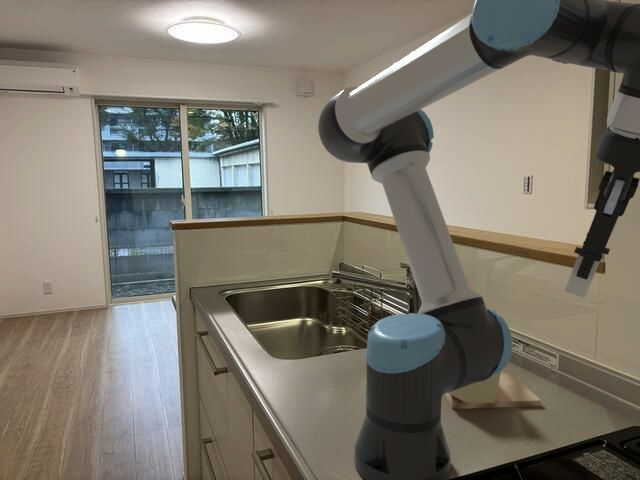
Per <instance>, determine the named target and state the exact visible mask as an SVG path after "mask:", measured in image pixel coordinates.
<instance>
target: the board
mask: <svg viewBox="0 0 640 480" xmlns="http://www.w3.org/2000/svg"><path fill="white" fill-rule="evenodd" d="M442 398H444V400H445V401H446V402H447V404H448V405H449V407H450V408H451V410H461V409H465V410H466V409H490V408H491V409H493V408H496V409H497V408H520V407H521V408H522V407H541V406H542V405H541V404H542V402H541V401H542V400H541V399H540V398H539V397H538V396H537V395H536V394H535V393H534V392H532V391H531V390H530V389H529V388H528V387H527V386H526V385H525V384H523V382H522V381H520V380H519V379H518V378H517V377H516V376H515V375H514V374H513V373H512V372H510V371H509V370H508V369H507V368H506V367H505V368H504V369H503V370H502V371H501V375H500V379H499V384H498V389H497V393H496V398H495V402H494V403H466V402H464V401H462V400H460V399H458V398H456V397H455V396H453V395H451V394H449V393H446V394H444V395H443V396H442Z"/></svg>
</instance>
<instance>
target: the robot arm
mask: <svg viewBox="0 0 640 480" xmlns="http://www.w3.org/2000/svg"><path fill="white" fill-rule="evenodd" d="M529 56H534V57H538V58H539V57H540V58H544V59H548V60H550V61H553V62H557V63H561V64H564V65H566V64H567V65H568V64H572V65H575V66H581V67H587V68H592V69H593V68H594V69H598V70H604V71H610V72H612V73H615V74H617V73H618V74H623V75H622V78H621V82H620V85H619V88H618V89H617V90H616V94H615V97H614V99H613V102H612V105H611V108H610V111H609V113H608V116H607V119H606V123H607V124H608V127H606V128H605V129H604V130H603V132H602V134H601V137H600V139H599V143H598V146H597V147H596V150H595V156H596V158H597V159H598V160H599V161H600V162H601V163H603V164H606V165H610V166H612V168H613V170H612V171H610V170H605V171H604V175H603V176H602V179H601V181H600V183H599V185H598V191H599V193H598V195H597V198H596V200H595V203H594V206H593V209H594V210H595V214H594V216H593V219H592V221H591V224H590V227H589V228H588V229H589V230H588V231H587V233H586V235H585V236H586V237H585V239H584V241H583V242H582V245H583V246H582V247H578V246H576V247H575V249H574V251H573V252H574V254H577V258H576V260H575V263H574V265H573V268H572V271H571V274H570V276H569V278H568V281H567V284H566V287H565V289H564V292H567V293H568V294H573V295H575V296H577V297H580V298H583V299H585V298H586V296H587V294H588V291H589V289H590V286H591V284H592V281H593V278H594V277H595V275H596V272H597V269H598V267H599V264H600V263H601V260H602V259H603V257H604V256H603V255H609V252H610V251H611V249H610V248H608V247H607V245H608V242H609V239H610V237H611V235H612V232H613V231H614V229H615V226H616V223H617V221H618V219H619V218H620V217H622V216H623V215H624V214H625V212H626V210H627V207H628V204H629V202H630V200H631V199H632V198H634V196H635V194H636V192H637V189H638V187H639V183H640V178H639V177H635V174H637V173H640V3H631V2H621V1H612V0H475V2H474V5H473V8H472V13H470V14H469V15H467V16H466V17H464V18H463V19H461V20H459V21H457V23H456V24H454V25H452V26H451V27H449V28H448V29H446V30H444V31H443V32H441V33H440V34H437V36H435V37H434V38H432V39H430V40H429V41H428V42H426V43H425V44H423V45H422V46H420V47H418V48H417V49H416V50H414V51H412V52H411V53H409V54H408V55H406V56H405V57H403V58H401V59H400V60H399V61H397V62H395V63H393V65H391V66H390V67H388V68H386V69H385V70H383V71H382V72H380V73H379V74H377V75H376V76H374V77H372V78H371V79H370V80H368V81H367V82H365V83H363V84H362V85H360V86H349V87H345V89H343V90H341V91H340V92H339V93H337V94H336V95H334V96H333V97H332V98H331V99H330V100H329V101H328V102H327V103H326V104H325V106H324V107H323V109H322V110H321V113H320V115H319V118H318V124H317V127H318V128H317V129H318V135H319V138H320V142H321V144H322V145H323V147H324V148H325V150H326V152H328V153H329V154H330V155H331V156H333V157H334V158H336V159H337V160H340V161H342V162H346V163H351V164H352V163H355V164H356V163H357V164H367V167H368V170H369V172H370V175H371V179H372V180H373V181H375V182H376V183H380V184H382V187H383V190H384V192H385V196H386V198H387V199H386V200H387V202H388V204H389V205H388V206H389V207H390V211H391V214H392V216H393V220H394V224H395V225H396V229H397V232H398V235H399V238H400V240H401V244H402V247H403V249H404V253H405V256H406V259H407V262H408V265H409V268H410V271H411V273H412V277H413V280H414V283H415V286H416V288H417V292H418V295H419V297H420V301H421V304H420V306H419V307H420V308H419V310H418V311H417V313H414V312H410V313H408V314H404V313H398V314H392V315H389V316H386V317H383V318H382V319H379V320H378V321H377V322H375V323H374V324H373V325H372V326H371V328H370V329H369V331H368V334H367V343H366V344H367V345H366V349H365V360H366V385H365V386H366V390H365V391H366V393H365V394H366V396H365V398H366V399H365V401H366V402H365V404H366V405H365V417H364V419H363V421H362V425H361V428H360V430H359V432H358V433H359V434H358V436H357V439H356V442H355V444H354V454H353V455H354V460H353V461H354V466H355V469H356V471H357V472H358V474H359V475H360V476H361V477H362V478H363V479H365V480H448V479H449V477H450V475H451V461H452V459H451V453H450V448H449V445H448V442H447V438H446V436H445V433H444V429H443V426H442V419H441V418H442V417H441V416H442V398H443V395H444V394H446V393H449V392H451V391H454V390H457V389H460V388H462V387H465V386H468V385H470V384H473V383H476V382H480V381H485V380H487V379H489V378H490V377H492V376H493V375H495V374H497V373H499V372H500V371H502V370H503V369H504V368H506V366H507V365H508V363H509V360H510V359H511V357H512V353H513V339H512V338H513V337H512V334H511V331H510V328H509V325H508V323H507V322H506V320H505V319H504V317H503V316H501V315H500V314H497V312H496V311H495V310H493V309H490V308H487V306H486V304H485V300H484V299H483V295H482V294H481V293H479V292H476V291H475V290H472V289H471V288H470V285H469V283H468V281H467V278H466V275H465V273H464V269H463V267H462V264H461V262H460V258H459V256H458V254H457V251H456V249H455V245H454V242H453V240H452V237H451V234H450V232H449V229H448V226H447V223H446V220H445V218H444V215H443V212H442V210H441V207H440V203H439V201H438V199H437V196H436V193H435V189H434V188H433V184H432V182H431V179H430V176H429V173H428V171H427V166H428V164H429V162H430V161H431V155H430V152H431V151H432V148H433V142H432V140H434V138H435V137H434V127H433V124H432V121H431V120H430V117H429V116H428V115H427V113H426V112H425V111H424V110H423V109H424V108H426V107H428V106H430V105H432V104H433V103H436V102H438V101H439V100H442V99H444V98H446V97H449V96H450V95H452V94H454V93H456V92H457V91H459V90H462V89H463V88H465V87H468V86H469V85H471V84H474V83H475V82H477V81H479V80H481V79H483V78H485V77H487V76H489V75H491V74H493V73H495V72H497V71H498V70H501V69H503V68H506V67H509V66H510V65H512V64H514V63H516V62H518V61H520V60H521V59H524V58H526V57H529Z"/></svg>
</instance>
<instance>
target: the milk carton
mask: <svg viewBox="0 0 640 480" xmlns="http://www.w3.org/2000/svg"><path fill="white" fill-rule="evenodd" d="M500 375H501V371H500V372H499V373H497V374H495V375H493V376H492V377H490V378H489V379H487V380H485V381H480V382H476V383H473V384H470V385H468V386H465V387H462V388H460V389H457V390H454V391H451V392H449V394H451V395H453V396H455V397H456V398H458V399H460V400H462V401H464V402H466V403H494V402H495V398H496V393H497V389H498V384H499V379H500Z"/></svg>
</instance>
